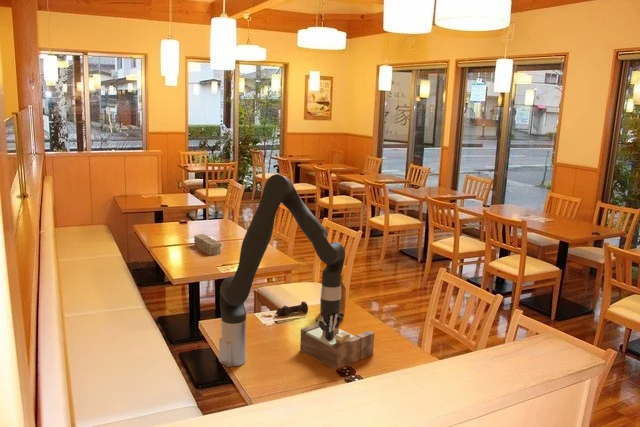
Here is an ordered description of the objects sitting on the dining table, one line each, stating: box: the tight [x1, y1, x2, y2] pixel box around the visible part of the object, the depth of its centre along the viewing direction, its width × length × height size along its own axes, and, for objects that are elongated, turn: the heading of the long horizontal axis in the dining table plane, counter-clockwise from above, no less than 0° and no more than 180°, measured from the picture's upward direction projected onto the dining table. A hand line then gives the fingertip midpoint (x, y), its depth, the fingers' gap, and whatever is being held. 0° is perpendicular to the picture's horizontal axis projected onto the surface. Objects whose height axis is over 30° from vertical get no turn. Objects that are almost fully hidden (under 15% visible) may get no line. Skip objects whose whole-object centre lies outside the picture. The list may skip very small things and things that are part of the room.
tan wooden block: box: [336, 331, 351, 344], centre depth 208 cm, size 5×3×3 cm, turn 133°
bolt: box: [275, 301, 309, 317], centre depth 258 cm, size 6×5×15 cm
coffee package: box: [319, 274, 347, 318], centre depth 256 cm, size 10×12×22 cm
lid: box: [306, 320, 356, 347], centre depth 215 cm, size 13×15×9 cm
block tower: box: [193, 233, 222, 256], centre depth 362 cm, size 8×8×29 cm
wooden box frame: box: [299, 323, 375, 370], centre depth 219 cm, size 21×21×9 cm
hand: (329, 339), depth 204 cm, fingers closed
